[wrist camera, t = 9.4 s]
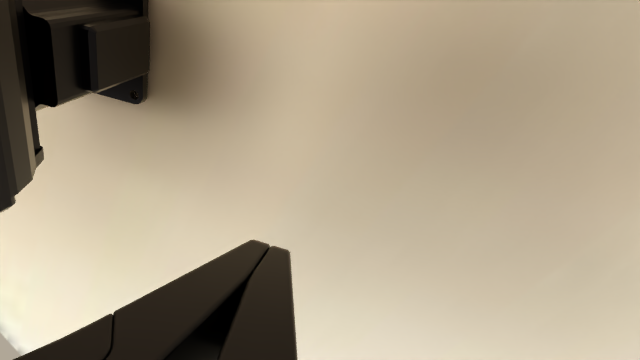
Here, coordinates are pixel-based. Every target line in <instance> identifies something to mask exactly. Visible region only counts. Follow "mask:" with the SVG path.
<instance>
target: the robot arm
mask: <svg viewBox="0 0 640 360" xmlns="http://www.w3.org/2000/svg"><path fill="white" fill-rule="evenodd" d="M149 53H150V22H149V20H148V0H0V213H1V212H3V211H5V210H7V209H8V208H10V207H11V206H12V205H14V204H15V201H16V200H15V195H16V194H18V193H19V192H20V191H21V190H22V189H23V188H24V187H25V186H26V185H27V184H28V183H30V182H31V181H32V179H33V176H34V173H35V170H36V168H37V166H38V165H39V164H40V163H41V162H42V161H43V160H44V153H43V147H42V146H40V143H39V134H38V126H37V118H36V111H38V110H40V109H43V108H46V107H48V106H50V107H56V106H59V105H62V104H64V103H67V102H70V101H72V100H75V99H78V98H80V97H83V96H85V95H88V94H91V93H97V94H100V95H104V96H107V97H111V98H115V99H118V100H122V101H125V102H129V103H133V104H139V103H141V102H144V101H145V100H146V99H147V72H148V71H149ZM134 90H135V91H136V92H137V93H138V96H139V97H137V96H136V95H135V94H134ZM13 360H297V346H296V332H295V317H294V303H293V288H292V274H291V259H290V252H289V251H288V250H286V249H283V248H279V247H276V246H271V247H270V245H269V244H266V243H263V242H260V241H257V240H250V241H248V242H246V243H244V244H242V245H240V246H238V247H237V248H235V249H233V250H231V251H229V252H227V253H225V254H223V255H221V256H219V257H217V258H216V259H214V260H212V261H210V262H208V263H206V264H204V265H202V266H200V267H198V268H196V269H195V270H193V271H191V272H189V273H187V274H185V275H183V276H181V277H179V278H177V279H175V280H174V281H172V282H170V283H168V284H166V285H164V286H162V287H160V288H158V289H156V290H154V291H153V292H151V293H149V294H147V295H145V296H143V297H141V298H139V299H137V300H135V301H134V302H132V303H130V304H128V305H126V306H124V307H122V308H120V309H118V310H116V311H115V312H114V313H113V315H112V314H108V315H106V316H105V317H103V318H101V319H99V320H97V321H95V322H93V323H91V324H89V325H87V326H85V327H83V328H81V329H79V330H77V331H75V332H73V333H71V334H69V335H67V336H65V337H63V338H61V339H59V340H56V341H54V342H52V343H50V344H47V345H45V346H43V347H41V348H38V349H36V350H34V351H32V352H30V353H27V354H25V355H23V356H20V357H18V358H16V359H13Z"/></svg>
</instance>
